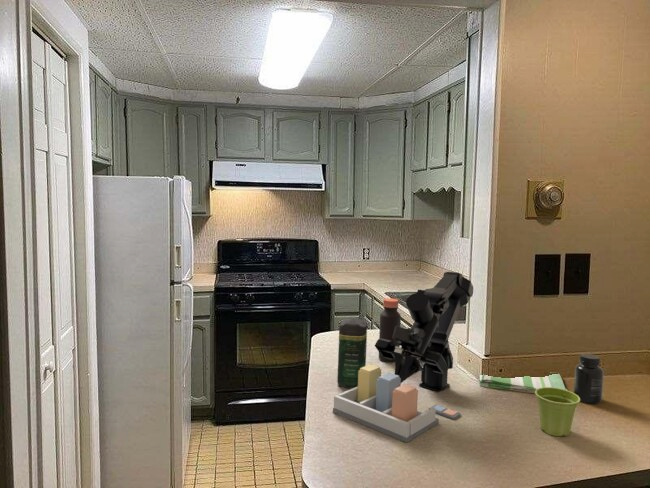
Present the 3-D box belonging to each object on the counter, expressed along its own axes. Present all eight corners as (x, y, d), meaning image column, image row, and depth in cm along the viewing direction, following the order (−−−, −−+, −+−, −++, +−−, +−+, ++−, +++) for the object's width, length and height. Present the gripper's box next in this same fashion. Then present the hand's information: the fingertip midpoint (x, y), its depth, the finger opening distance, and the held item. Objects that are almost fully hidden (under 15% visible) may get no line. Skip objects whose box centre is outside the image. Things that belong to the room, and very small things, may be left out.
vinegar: (402, 358, 164) (404, 299, 162) (393, 364, 159) (396, 302, 157) (383, 354, 168) (386, 297, 166) (374, 360, 162) (377, 300, 160)
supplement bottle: (600, 397, 135) (603, 354, 134) (602, 406, 129) (606, 362, 128) (572, 392, 138) (575, 351, 137) (573, 401, 132) (576, 357, 131)
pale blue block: (399, 409, 121) (400, 375, 120) (387, 416, 117) (388, 380, 116) (387, 405, 123) (389, 372, 122) (375, 411, 120) (376, 377, 119)
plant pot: (575, 444, 108) (578, 406, 107) (529, 433, 113) (531, 396, 112) (579, 428, 116) (582, 392, 115) (536, 418, 121) (538, 384, 120)
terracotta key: (416, 423, 114) (418, 387, 113) (404, 430, 110) (405, 393, 109) (403, 418, 116) (405, 383, 115) (391, 425, 112) (392, 388, 112)
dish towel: (569, 400, 134) (569, 390, 134) (479, 388, 141) (479, 379, 140) (558, 378, 151) (559, 369, 151) (478, 368, 158) (479, 360, 157)
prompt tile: (460, 415, 122) (460, 412, 122) (453, 419, 119) (453, 416, 119) (435, 406, 126) (435, 403, 126) (428, 410, 124) (428, 407, 124)
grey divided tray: (438, 422, 117) (439, 406, 117) (406, 442, 107) (407, 424, 107) (366, 396, 132) (367, 382, 131) (332, 411, 122) (333, 396, 121)
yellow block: (380, 399, 127) (381, 367, 126) (368, 405, 123) (369, 371, 122) (369, 395, 129) (370, 363, 128) (357, 401, 125) (358, 368, 125)
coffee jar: (363, 390, 136) (365, 324, 134) (335, 388, 137) (337, 322, 136) (366, 378, 146) (368, 316, 144) (339, 375, 147) (341, 314, 145)
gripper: (380, 308, 130) (352, 357, 123) (443, 321, 118) (416, 377, 111) (396, 332, 137) (370, 380, 130) (457, 346, 124) (433, 401, 117)
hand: (395, 384), depth 122 cm, fingers closed, pressing on pale blue block
